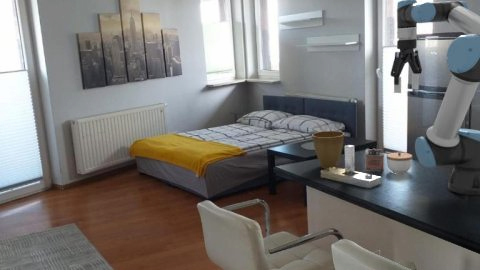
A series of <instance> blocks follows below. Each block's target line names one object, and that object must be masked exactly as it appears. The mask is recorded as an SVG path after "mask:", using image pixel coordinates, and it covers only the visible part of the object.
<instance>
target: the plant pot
mask: <svg viewBox="0 0 480 270" xmlns="http://www.w3.org/2000/svg"><path fill="white" fill-rule="evenodd" d="M311 138H312V143H313V147H314V151H315V154H316V156H317V160H318V162H319V165H320V166H321V168H322V169H327V168H329V167H337V168H338V167H339V163H340V159H341V156H342V153H343V146H344V139H345V132H342V131H339V130H338V131H337V130H323V131H317V132H314V133H312V134H311Z"/></svg>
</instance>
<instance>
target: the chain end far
mask: <svg viewBox="0 0 480 270" xmlns="http://www.w3.org/2000/svg"><path fill="white" fill-rule="evenodd" d="M359 173H362V172H361V171H355V175H356V174H359ZM349 177H350V176H348V175H345V168H341V167H338V166H337V167H329V168H327V169H325V168H323V169H321V170H320V178H324V179H329V180H333V181H337V182H340V181H339V178H342V179H346V180H349Z"/></svg>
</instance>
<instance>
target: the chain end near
mask: <svg viewBox="0 0 480 270" xmlns="http://www.w3.org/2000/svg"><path fill="white" fill-rule="evenodd" d="M338 182H341V183H345V184H349V185H354V186H357V187H362V188H367V189H372V188H373V187H374V188H375V187H376V186H379V185H382V176H379V175H375V174H369V173H365V172H361V173H359V174H356V175H353V176H350V177H349V180H346V179H342V178H339V181H338Z"/></svg>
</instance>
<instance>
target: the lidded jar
mask: <svg viewBox="0 0 480 270" xmlns="http://www.w3.org/2000/svg"><path fill="white" fill-rule="evenodd" d="M386 163H387V168H388V169H389V170H390V172H393V173H392V174H394V173H396V174H395V175H406V174H407V172H408V171H410V169H411V168H412V164H413V154H411V153H407V152H401V151H397V152H391V153H388V154H386ZM405 173H406V174H405Z"/></svg>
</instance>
